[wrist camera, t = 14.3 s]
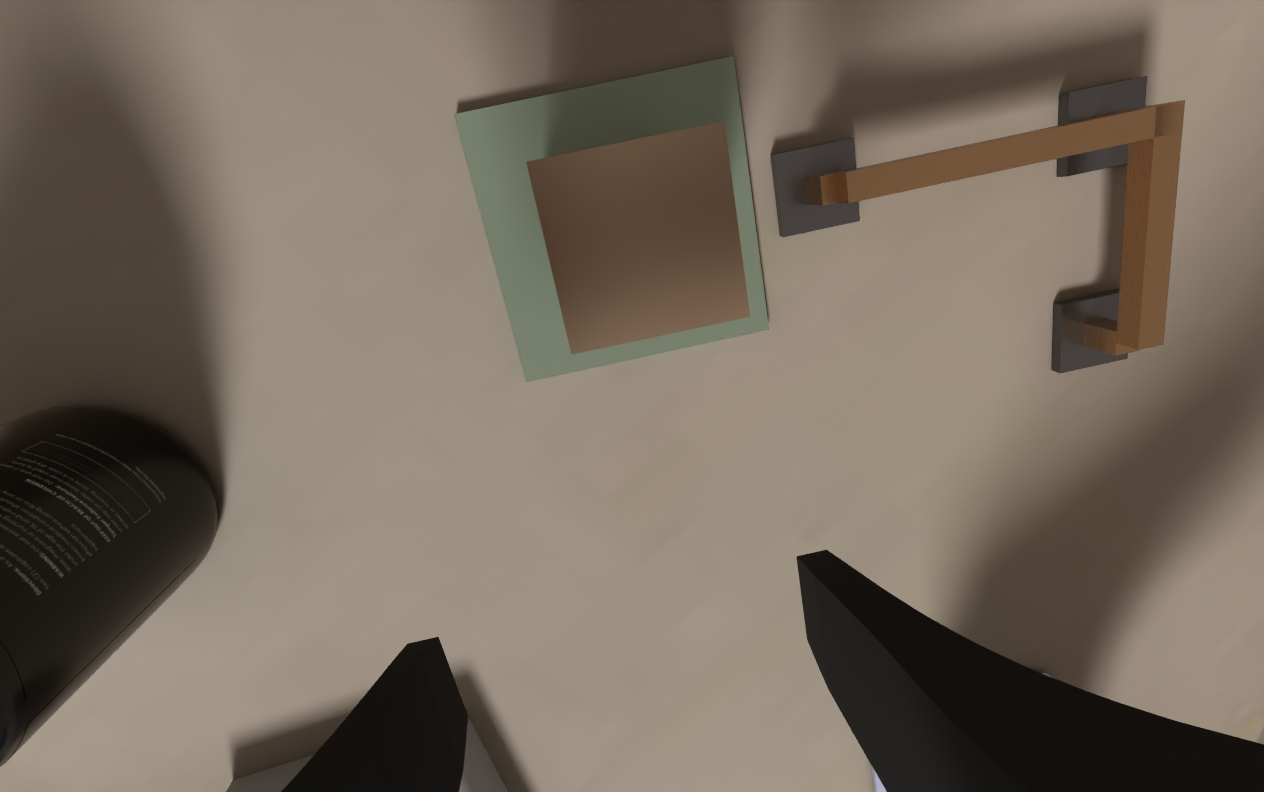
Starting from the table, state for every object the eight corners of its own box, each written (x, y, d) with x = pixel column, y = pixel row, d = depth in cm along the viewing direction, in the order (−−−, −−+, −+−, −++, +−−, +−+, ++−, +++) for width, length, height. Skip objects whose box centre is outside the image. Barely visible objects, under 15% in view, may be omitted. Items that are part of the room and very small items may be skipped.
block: (698, 280, 19) (750, 316, 13) (573, 306, 19) (571, 354, 13) (677, 144, 18) (724, 121, 12) (542, 172, 18) (526, 161, 12)
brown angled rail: (1117, 355, 21) (1184, 375, 19) (802, 425, 21) (830, 453, 19) (1135, 78, 19) (1216, 61, 16) (770, 155, 18) (799, 150, 16)
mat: (766, 327, 20) (769, 329, 20) (527, 379, 20) (526, 382, 20) (731, 57, 17) (733, 55, 17) (455, 115, 17) (454, 114, 17)
